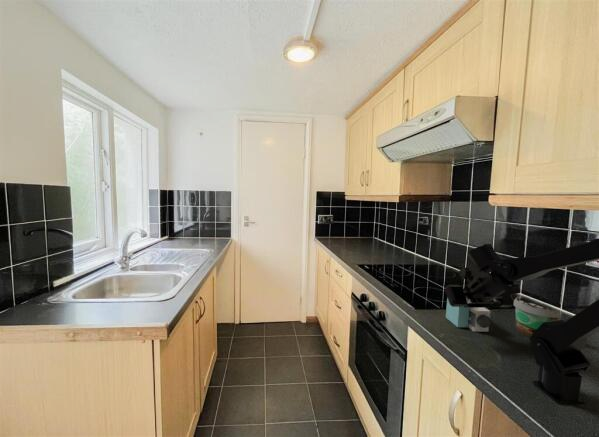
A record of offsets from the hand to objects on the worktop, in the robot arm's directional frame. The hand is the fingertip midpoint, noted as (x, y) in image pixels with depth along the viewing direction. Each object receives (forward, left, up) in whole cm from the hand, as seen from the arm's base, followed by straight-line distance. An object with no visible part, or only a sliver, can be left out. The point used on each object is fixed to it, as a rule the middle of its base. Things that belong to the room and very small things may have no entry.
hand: (464, 306), depth 90 cm
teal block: (+4, 0, -8) cm, 9 cm away
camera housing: (+4, -5, -8) cm, 10 cm away
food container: (-3, -20, -8) cm, 22 cm away
